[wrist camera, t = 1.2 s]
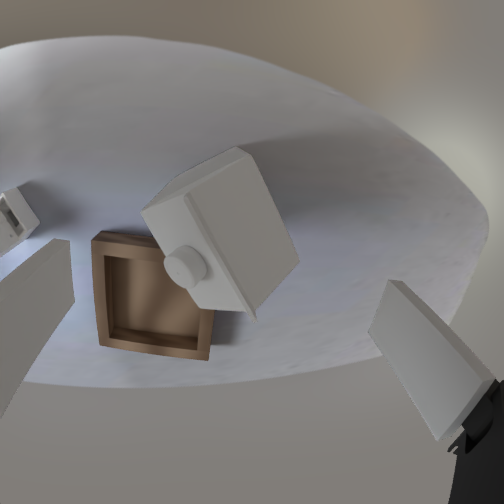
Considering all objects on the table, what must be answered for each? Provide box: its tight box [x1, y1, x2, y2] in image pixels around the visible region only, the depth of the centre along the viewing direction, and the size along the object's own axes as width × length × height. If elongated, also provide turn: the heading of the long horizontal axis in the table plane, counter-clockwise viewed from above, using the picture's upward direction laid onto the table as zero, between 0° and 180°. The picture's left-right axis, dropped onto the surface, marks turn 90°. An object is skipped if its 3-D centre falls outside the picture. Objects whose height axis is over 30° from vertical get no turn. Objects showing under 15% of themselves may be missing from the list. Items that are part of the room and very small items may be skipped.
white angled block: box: [0, 187, 40, 258], centre depth 26 cm, size 4×10×9 cm
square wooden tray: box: [91, 231, 215, 361], centre depth 33 cm, size 14×14×3 cm
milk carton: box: [140, 146, 300, 323], centre depth 23 cm, size 7×7×19 cm
